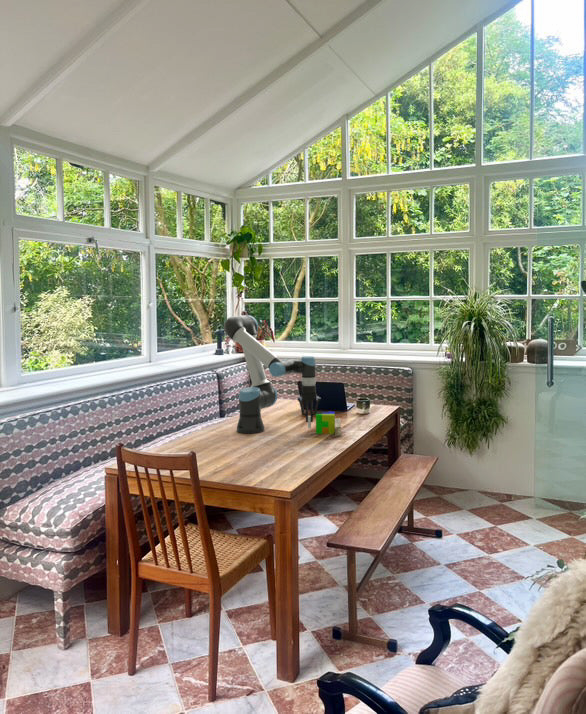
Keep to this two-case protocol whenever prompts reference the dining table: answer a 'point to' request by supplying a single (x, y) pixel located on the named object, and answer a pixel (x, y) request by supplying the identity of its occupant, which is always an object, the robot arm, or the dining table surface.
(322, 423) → the puzzle toy
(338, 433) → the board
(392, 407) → the dining table surface
